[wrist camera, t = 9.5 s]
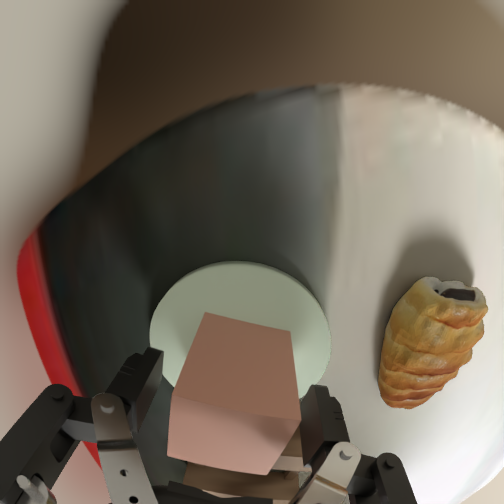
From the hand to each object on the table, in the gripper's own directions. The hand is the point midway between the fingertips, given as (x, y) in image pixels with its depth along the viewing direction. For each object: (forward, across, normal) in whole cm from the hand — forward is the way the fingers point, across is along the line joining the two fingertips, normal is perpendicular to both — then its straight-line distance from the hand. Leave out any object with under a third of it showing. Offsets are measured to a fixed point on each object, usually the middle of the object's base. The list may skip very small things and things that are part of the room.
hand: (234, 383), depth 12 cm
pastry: (+4, -11, -3) cm, 12 cm away
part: (+2, 0, 0) cm, 2 cm away
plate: (+3, 0, 0) cm, 3 cm away
